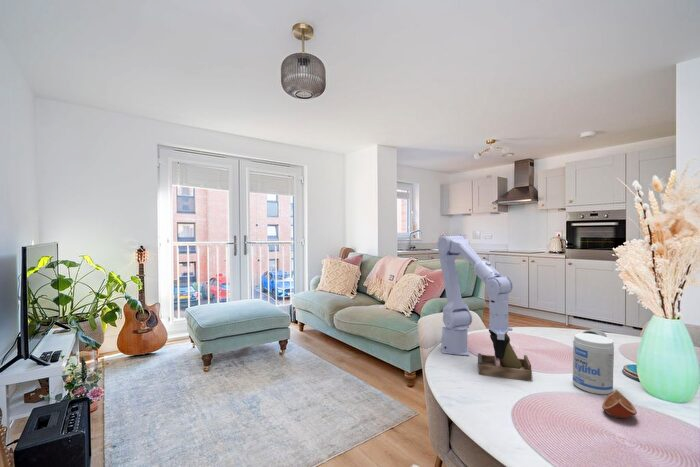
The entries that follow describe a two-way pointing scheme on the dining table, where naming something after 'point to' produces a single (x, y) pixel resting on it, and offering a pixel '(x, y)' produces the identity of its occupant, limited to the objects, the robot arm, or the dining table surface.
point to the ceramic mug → (595, 332)
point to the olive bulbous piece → (510, 357)
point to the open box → (504, 368)
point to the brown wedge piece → (618, 405)
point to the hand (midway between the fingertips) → (498, 355)
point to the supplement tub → (593, 363)
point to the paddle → (497, 361)
